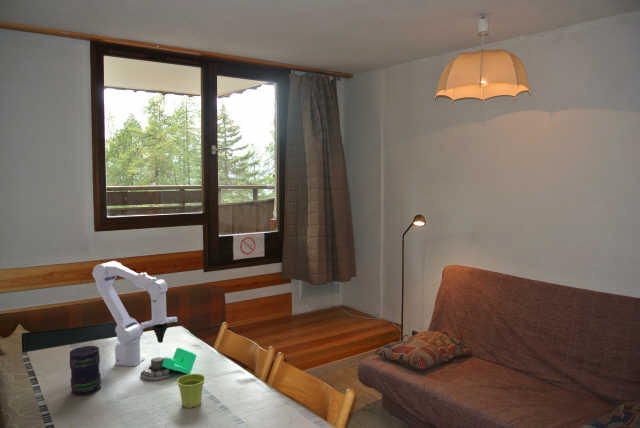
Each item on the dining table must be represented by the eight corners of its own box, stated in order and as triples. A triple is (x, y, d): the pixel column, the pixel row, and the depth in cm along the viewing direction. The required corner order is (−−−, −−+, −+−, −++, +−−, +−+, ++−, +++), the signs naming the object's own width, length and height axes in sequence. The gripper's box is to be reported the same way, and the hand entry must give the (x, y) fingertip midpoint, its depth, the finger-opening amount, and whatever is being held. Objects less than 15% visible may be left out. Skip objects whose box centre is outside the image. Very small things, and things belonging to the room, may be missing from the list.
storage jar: (70, 398, 167) (68, 357, 166) (71, 388, 176) (69, 348, 175) (101, 392, 172) (100, 352, 170) (100, 382, 180) (98, 344, 179)
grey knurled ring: (134, 380, 181) (133, 373, 181) (150, 367, 194) (149, 360, 194) (166, 381, 180) (166, 374, 180) (180, 368, 193) (180, 361, 193)
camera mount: (199, 355, 189) (178, 350, 182) (192, 374, 187) (171, 370, 180) (182, 348, 197) (161, 343, 190) (175, 366, 195) (154, 362, 187)
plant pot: (211, 399, 165) (210, 375, 164) (195, 412, 156) (195, 386, 155) (188, 396, 168) (187, 372, 167) (171, 408, 159) (170, 383, 158)
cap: (149, 374, 185) (148, 361, 184) (154, 369, 190) (154, 356, 189) (161, 374, 184) (160, 361, 184) (166, 369, 189) (166, 356, 189)
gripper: (144, 314, 187) (145, 348, 188) (179, 308, 196) (180, 340, 197) (138, 311, 193) (139, 343, 194) (173, 305, 202) (174, 336, 203)
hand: (160, 342), depth 196 cm, fingers closed
